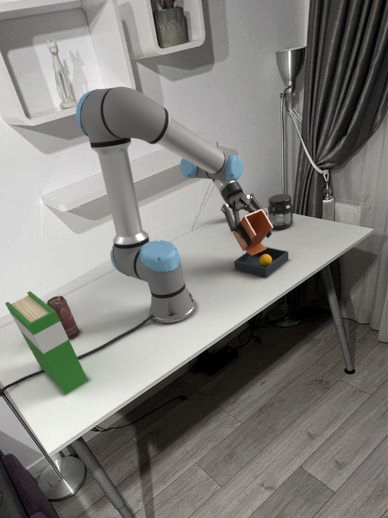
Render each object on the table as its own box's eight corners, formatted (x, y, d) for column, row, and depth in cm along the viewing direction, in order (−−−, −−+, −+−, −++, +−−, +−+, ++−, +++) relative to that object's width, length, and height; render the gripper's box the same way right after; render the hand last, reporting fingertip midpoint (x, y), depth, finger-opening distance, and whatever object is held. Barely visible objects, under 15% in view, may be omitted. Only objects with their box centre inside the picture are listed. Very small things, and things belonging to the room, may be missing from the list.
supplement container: (284, 218, 180) (283, 191, 173) (298, 225, 172) (297, 197, 165) (264, 225, 178) (262, 198, 171) (277, 232, 170) (275, 204, 163)
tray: (266, 277, 143) (265, 268, 140) (235, 269, 151) (234, 261, 149) (288, 260, 150) (288, 251, 148) (257, 253, 158) (256, 245, 156)
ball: (265, 268, 145) (255, 261, 146) (267, 270, 149) (257, 263, 150) (273, 257, 144) (263, 250, 145) (275, 260, 148) (265, 252, 149)
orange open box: (232, 233, 150) (243, 216, 139) (249, 226, 153) (262, 208, 141) (248, 259, 149) (260, 244, 138) (265, 252, 152) (278, 236, 140)
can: (82, 328, 138) (67, 293, 129) (76, 340, 133) (60, 304, 124) (66, 330, 139) (50, 295, 130) (59, 341, 134) (42, 306, 126)
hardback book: (41, 368, 124) (4, 303, 109) (62, 356, 127) (30, 291, 112) (65, 394, 112) (28, 325, 98) (88, 380, 115) (55, 311, 101)
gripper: (248, 184, 153) (278, 235, 151) (202, 202, 146) (233, 255, 144) (255, 172, 146) (287, 224, 144) (207, 190, 139) (240, 245, 137)
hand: (260, 240), depth 144 cm, fingers closed on orange open box, 8 cm apart
